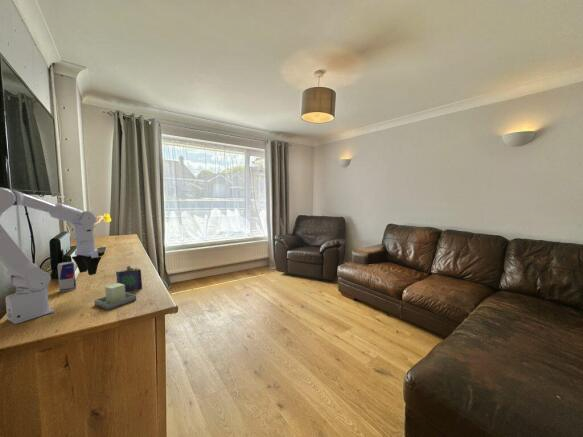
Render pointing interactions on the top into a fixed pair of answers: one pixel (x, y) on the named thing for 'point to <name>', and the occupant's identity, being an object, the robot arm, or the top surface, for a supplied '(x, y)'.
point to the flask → (130, 278)
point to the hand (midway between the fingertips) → (87, 273)
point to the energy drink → (66, 276)
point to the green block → (115, 292)
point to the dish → (108, 306)
